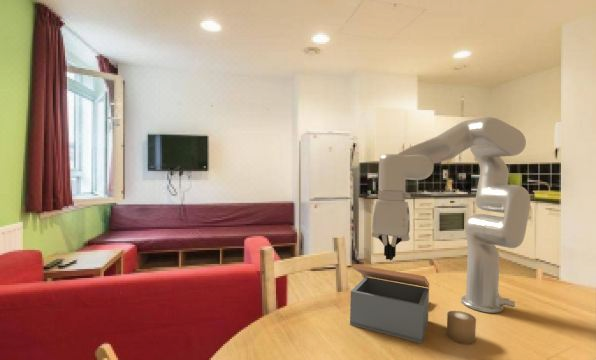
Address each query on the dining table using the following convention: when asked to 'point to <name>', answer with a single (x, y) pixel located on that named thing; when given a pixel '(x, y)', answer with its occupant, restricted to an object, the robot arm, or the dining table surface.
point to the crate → (390, 308)
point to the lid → (392, 275)
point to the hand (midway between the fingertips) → (389, 258)
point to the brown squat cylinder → (461, 327)
